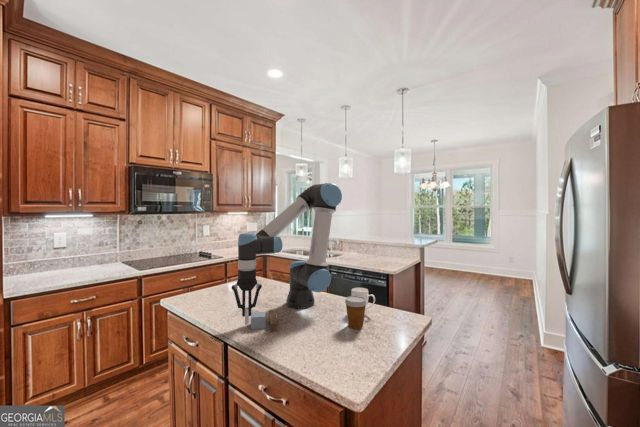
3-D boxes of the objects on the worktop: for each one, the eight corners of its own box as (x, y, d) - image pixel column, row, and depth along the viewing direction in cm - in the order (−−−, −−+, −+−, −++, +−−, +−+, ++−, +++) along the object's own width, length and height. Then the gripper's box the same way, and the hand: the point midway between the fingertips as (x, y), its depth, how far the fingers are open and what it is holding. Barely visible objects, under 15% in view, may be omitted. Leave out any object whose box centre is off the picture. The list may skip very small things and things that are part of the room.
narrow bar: (275, 317, 135) (275, 310, 135) (278, 331, 119) (278, 323, 119) (269, 318, 134) (269, 310, 134) (270, 332, 118) (271, 323, 118)
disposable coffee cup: (352, 332, 119) (352, 303, 119) (340, 324, 128) (340, 297, 127) (371, 328, 123) (371, 300, 123) (358, 320, 132) (358, 294, 132)
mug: (348, 313, 141) (348, 290, 140) (355, 308, 148) (355, 286, 148) (371, 318, 134) (371, 294, 134) (377, 313, 142) (377, 290, 141)
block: (264, 322, 128) (264, 311, 128) (265, 328, 122) (265, 316, 122) (251, 323, 127) (251, 312, 127) (250, 329, 121) (250, 317, 121)
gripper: (262, 266, 129) (261, 319, 129) (232, 267, 126) (231, 321, 126) (262, 270, 121) (262, 325, 122) (230, 271, 119) (230, 328, 119)
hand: (246, 323), depth 124 cm, fingers closed
